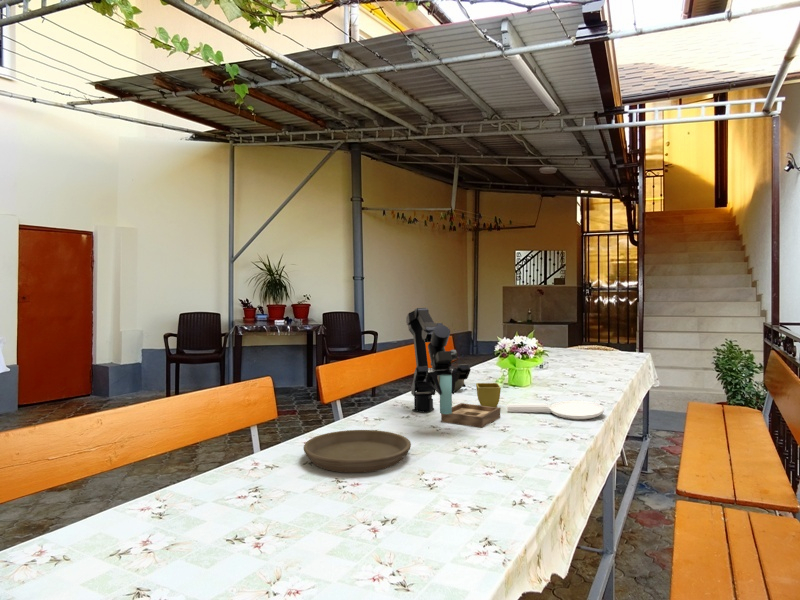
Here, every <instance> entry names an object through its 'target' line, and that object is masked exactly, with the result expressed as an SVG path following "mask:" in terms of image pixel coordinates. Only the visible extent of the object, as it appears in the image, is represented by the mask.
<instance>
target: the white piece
mask: <svg viewBox="0 0 800 600" xmlns="http://www.w3.org/2000/svg"><path fill="white" fill-rule="evenodd" d="M506 406H507V407H506V408H507V413H552V414H553V415H555V416H557V417H560V418H562V419H569V420H588V419H589V420H590V419H593V418H598V417H599V416H601V415H602V414H604V413H605V412H604V411H605V407H604V406H603V405H601V404H599V403H596V402H594V401H593V402H592V401H587V400H586V401H585V400H564V401H560V402H555V403H553V404H551V405H549V404H547V403H507V405H506Z"/></svg>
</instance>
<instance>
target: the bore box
mask: <svg viewBox="0 0 800 600" xmlns="http://www.w3.org/2000/svg"><path fill="white" fill-rule="evenodd" d="M440 414H441V413H440ZM440 418H441V419H440V421H441V423H442V422H443V423H450V424H456V425H460V426H461V425H462V426H469V427H475V428H476V427H477V428H484V427H486V426H488V425H489V424H491V423H493V422H495V421H497V420H499V419H500V418H501V407H488V406H481V405H478V404H471V403H465V402H464V403H463V402H460V403H459V404H456V405H454V406H453V405H452V413H451V414H441V416H440Z"/></svg>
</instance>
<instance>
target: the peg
mask: <svg viewBox="0 0 800 600" xmlns="http://www.w3.org/2000/svg"><path fill="white" fill-rule="evenodd" d="M440 388H441V395H439V414H451V413H452V407H453V394H452V375H447V374H444V375H440Z"/></svg>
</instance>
